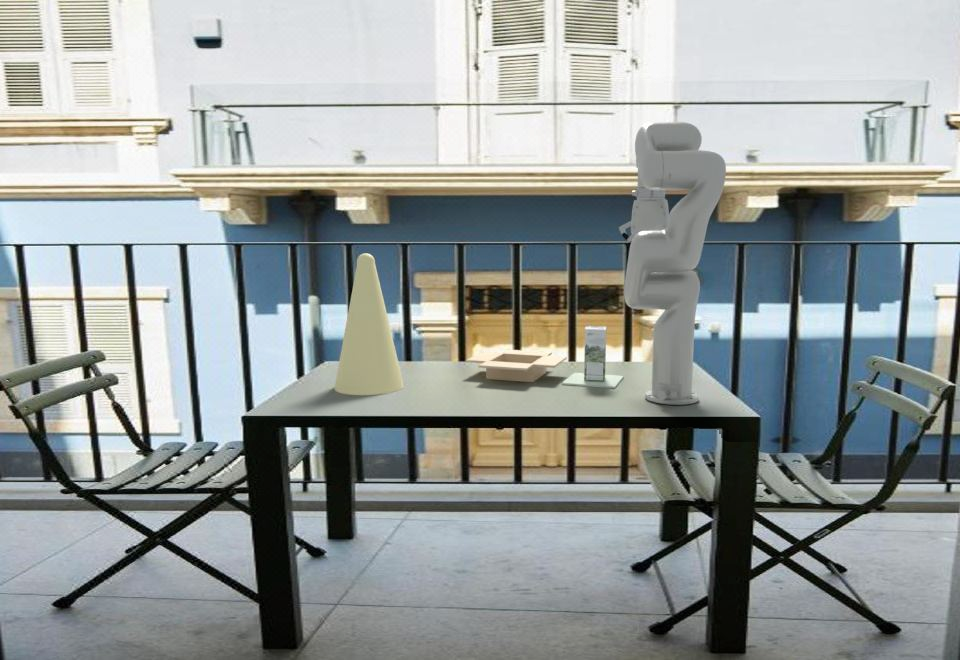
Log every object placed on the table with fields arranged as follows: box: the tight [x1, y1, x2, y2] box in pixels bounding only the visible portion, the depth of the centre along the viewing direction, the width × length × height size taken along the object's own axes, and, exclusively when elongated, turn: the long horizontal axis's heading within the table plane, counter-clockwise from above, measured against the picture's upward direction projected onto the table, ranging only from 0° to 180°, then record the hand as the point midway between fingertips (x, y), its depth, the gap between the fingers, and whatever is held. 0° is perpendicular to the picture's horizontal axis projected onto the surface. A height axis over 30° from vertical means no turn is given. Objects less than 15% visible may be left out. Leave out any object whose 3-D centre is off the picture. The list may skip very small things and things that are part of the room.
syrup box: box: [583, 325, 607, 381], centre depth 191 cm, size 6×6×14 cm
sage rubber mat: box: [562, 372, 624, 389], centre depth 192 cm, size 14×14×1 cm
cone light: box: [333, 252, 405, 396], centre depth 187 cm, size 25×18×35 cm
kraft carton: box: [465, 349, 568, 383], centre depth 199 cm, size 26×26×5 cm
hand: (649, 256), depth 198 cm, fingers open, 9 cm apart
